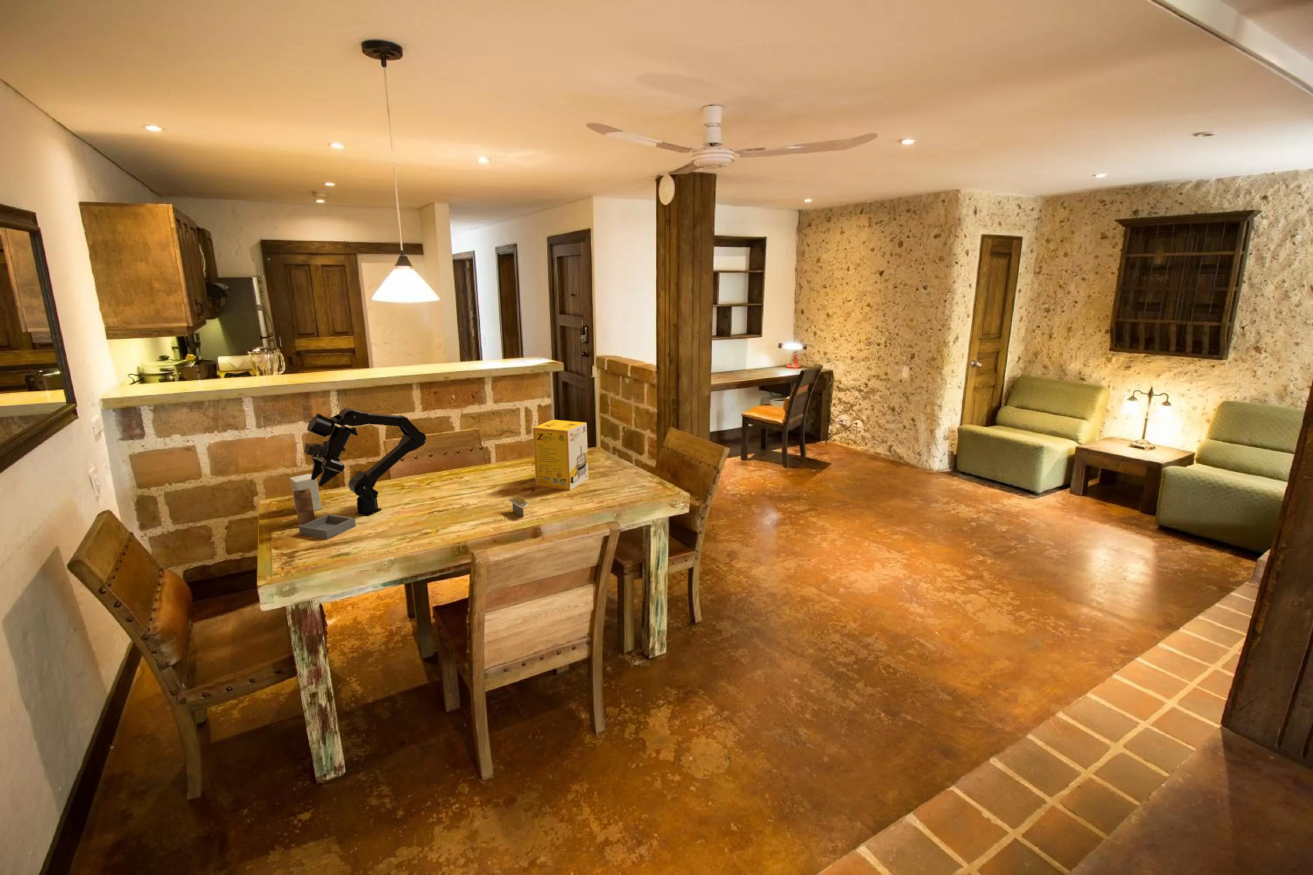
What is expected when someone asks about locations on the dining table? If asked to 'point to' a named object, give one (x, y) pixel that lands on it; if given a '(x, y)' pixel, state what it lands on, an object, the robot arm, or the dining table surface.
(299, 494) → the block
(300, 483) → the supplement box
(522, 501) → the platform
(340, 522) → the tray
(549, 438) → the packaging box
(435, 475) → the dining table surface
